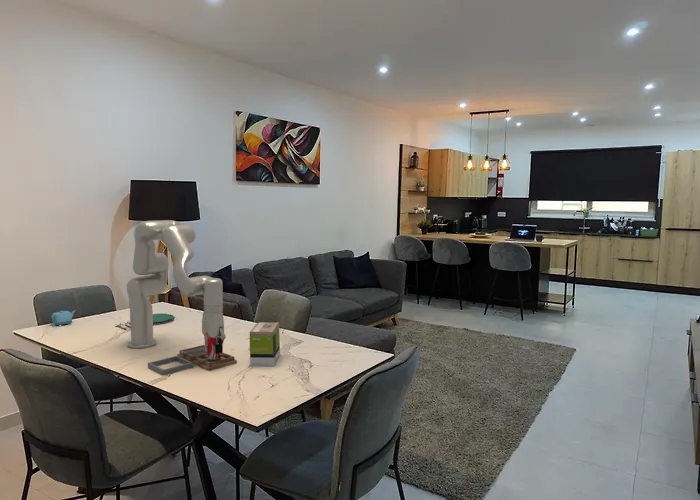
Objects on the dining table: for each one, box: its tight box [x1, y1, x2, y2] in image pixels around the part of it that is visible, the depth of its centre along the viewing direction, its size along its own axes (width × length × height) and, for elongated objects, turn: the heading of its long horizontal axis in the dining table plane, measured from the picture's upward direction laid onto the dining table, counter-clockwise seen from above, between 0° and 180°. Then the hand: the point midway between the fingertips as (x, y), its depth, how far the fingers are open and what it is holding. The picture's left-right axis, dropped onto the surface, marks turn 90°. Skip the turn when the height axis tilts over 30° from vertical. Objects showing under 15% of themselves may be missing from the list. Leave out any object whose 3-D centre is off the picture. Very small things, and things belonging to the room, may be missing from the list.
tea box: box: [249, 322, 281, 367], centre depth 204 cm, size 15×10×15 cm
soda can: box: [204, 331, 222, 360], centre depth 200 cm, size 7×7×12 cm
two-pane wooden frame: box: [176, 344, 238, 372], centre depth 204 cm, size 25×13×3 cm, turn 48°
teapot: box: [51, 309, 76, 326], centre depth 258 cm, size 12×6×8 cm, turn 139°
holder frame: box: [147, 355, 194, 376], centre depth 194 cm, size 13×13×2 cm
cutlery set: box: [115, 312, 176, 331], centre depth 264 cm, size 20×30×2 cm, turn 137°
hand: (213, 350), depth 200 cm, fingers closed on soda can, 6 cm apart
